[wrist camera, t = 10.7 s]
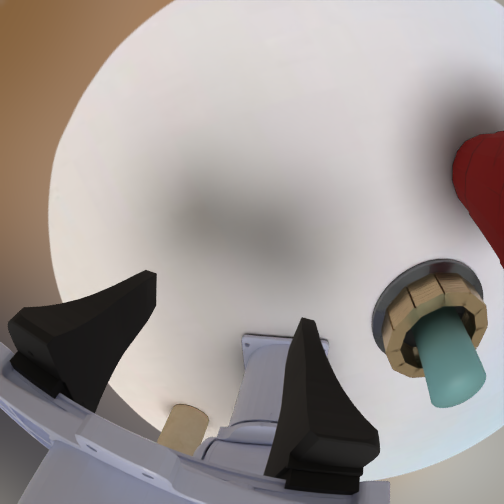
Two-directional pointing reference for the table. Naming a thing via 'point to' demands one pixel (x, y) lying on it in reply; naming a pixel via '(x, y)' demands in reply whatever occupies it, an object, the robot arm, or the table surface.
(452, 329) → the peg
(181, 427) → the candle
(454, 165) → the plastic cup
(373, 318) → the ring holder
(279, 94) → the table surface
